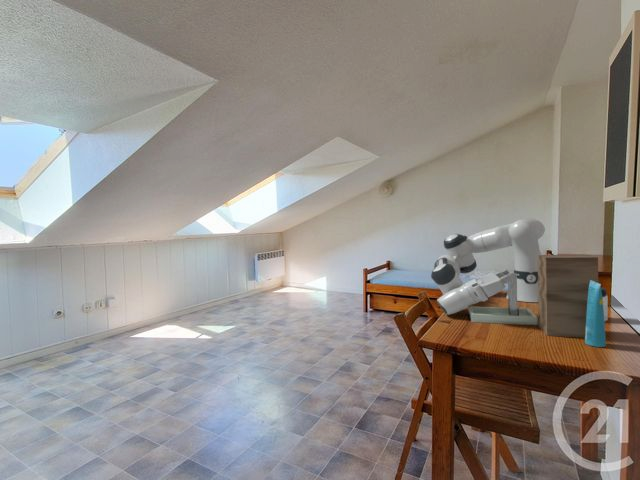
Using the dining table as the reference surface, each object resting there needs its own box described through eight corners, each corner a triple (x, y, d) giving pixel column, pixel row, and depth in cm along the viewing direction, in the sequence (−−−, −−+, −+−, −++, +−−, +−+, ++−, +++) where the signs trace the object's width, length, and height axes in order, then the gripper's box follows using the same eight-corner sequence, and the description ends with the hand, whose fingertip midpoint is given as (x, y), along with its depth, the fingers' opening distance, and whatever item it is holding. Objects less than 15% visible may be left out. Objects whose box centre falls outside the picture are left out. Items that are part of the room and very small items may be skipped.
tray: (468, 313, 140) (468, 306, 140) (528, 316, 133) (528, 308, 133) (471, 321, 128) (471, 314, 128) (537, 325, 121) (537, 317, 121)
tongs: (507, 273, 130) (516, 273, 129) (508, 315, 131) (517, 316, 130) (509, 274, 127) (518, 274, 126) (510, 317, 128) (519, 318, 127)
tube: (611, 349, 96) (611, 284, 96) (592, 348, 98) (591, 284, 97) (597, 340, 103) (597, 279, 103) (579, 340, 105) (579, 279, 104)
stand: (538, 326, 119) (537, 254, 118) (585, 329, 115) (584, 254, 114) (547, 335, 110) (546, 257, 109) (598, 338, 105) (598, 257, 104)
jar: (602, 324, 119) (601, 291, 119) (575, 319, 126) (574, 288, 126) (610, 319, 124) (610, 287, 124) (584, 315, 131) (583, 285, 131)
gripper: (478, 291, 142) (509, 276, 138) (484, 302, 123) (521, 284, 119) (470, 278, 143) (501, 263, 139) (475, 287, 124) (511, 269, 119)
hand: (510, 273), depth 128 cm, fingers open, 8 cm apart
